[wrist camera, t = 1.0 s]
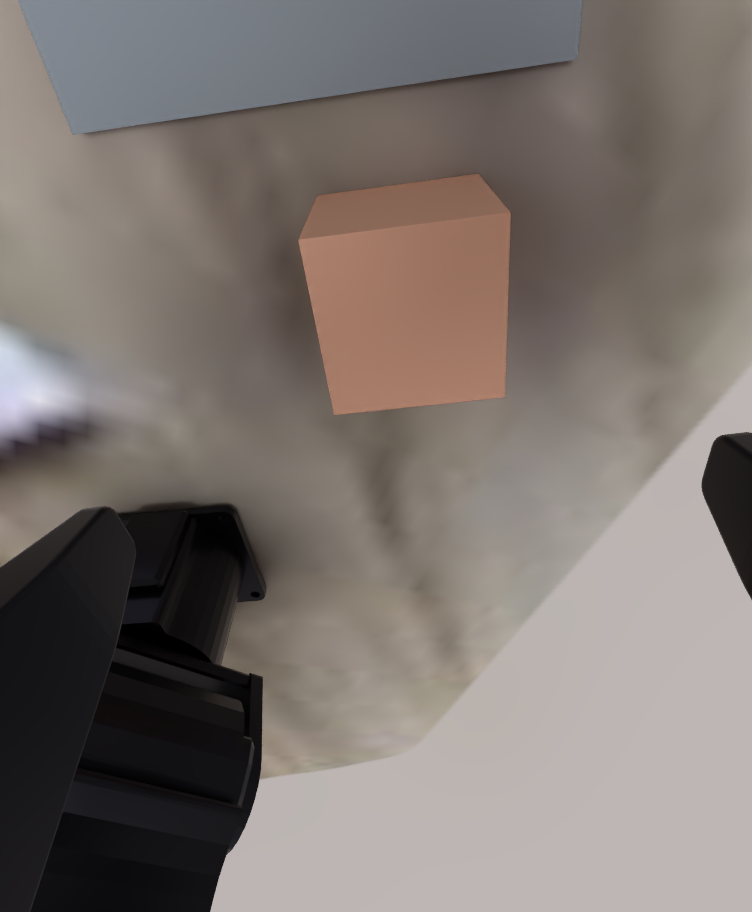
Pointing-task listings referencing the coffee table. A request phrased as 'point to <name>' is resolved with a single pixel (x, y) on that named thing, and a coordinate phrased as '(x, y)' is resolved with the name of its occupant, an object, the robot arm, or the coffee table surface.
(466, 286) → the terracotta cube
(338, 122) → the coffee table surface
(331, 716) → the coffee table surface
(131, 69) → the slate mat
